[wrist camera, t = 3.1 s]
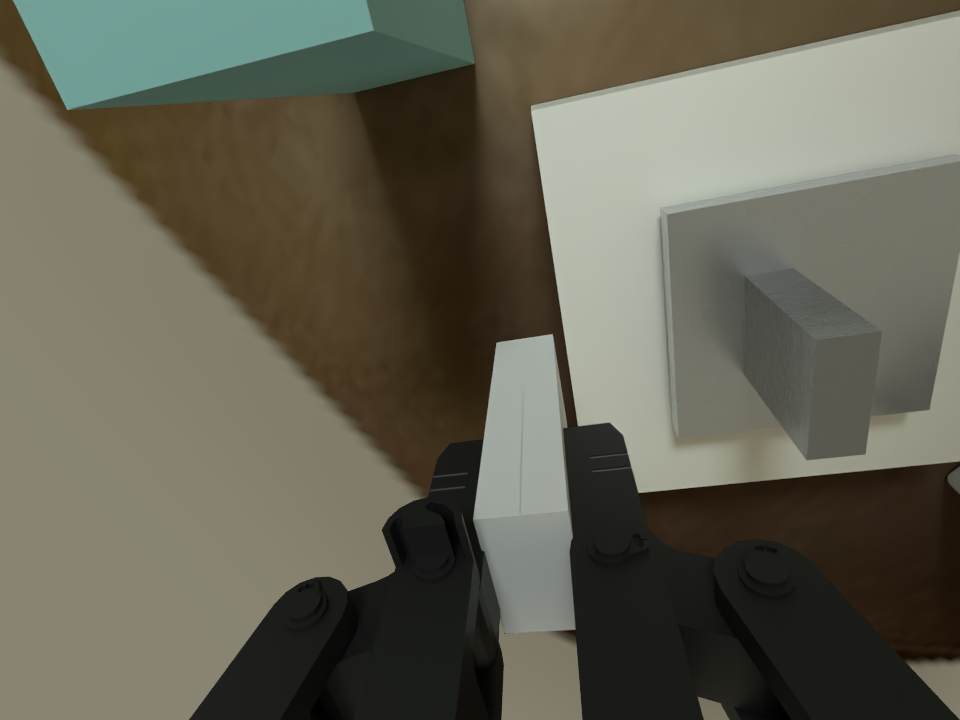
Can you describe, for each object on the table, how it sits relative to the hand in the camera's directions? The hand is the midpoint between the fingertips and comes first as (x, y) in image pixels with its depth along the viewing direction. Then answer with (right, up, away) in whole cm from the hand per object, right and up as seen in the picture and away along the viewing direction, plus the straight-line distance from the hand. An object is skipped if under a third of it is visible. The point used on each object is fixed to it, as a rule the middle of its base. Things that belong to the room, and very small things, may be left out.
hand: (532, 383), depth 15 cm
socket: (+8, +4, +4) cm, 10 cm away
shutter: (+8, +2, +1) cm, 8 cm away
